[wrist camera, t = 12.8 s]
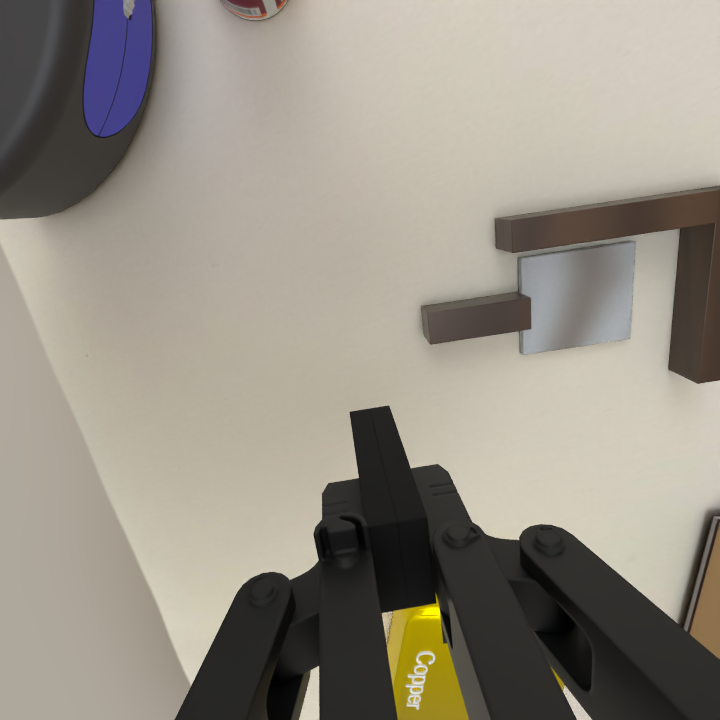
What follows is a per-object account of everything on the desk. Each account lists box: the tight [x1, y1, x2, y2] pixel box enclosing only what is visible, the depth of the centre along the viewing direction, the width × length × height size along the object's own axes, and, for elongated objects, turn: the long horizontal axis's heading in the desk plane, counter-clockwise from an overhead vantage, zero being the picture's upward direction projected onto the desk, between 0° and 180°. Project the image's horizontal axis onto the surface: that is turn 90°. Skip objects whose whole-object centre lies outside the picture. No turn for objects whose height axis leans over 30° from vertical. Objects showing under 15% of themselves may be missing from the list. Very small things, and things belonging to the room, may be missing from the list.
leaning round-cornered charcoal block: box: [0, 0, 155, 219], centre depth 23 cm, size 16×5×9 cm, turn 151°
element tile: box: [387, 596, 565, 720], centre depth 41 cm, size 15×15×5 cm
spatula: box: [421, 241, 636, 355], centre depth 32 cm, size 15×7×2 cm, turn 98°
